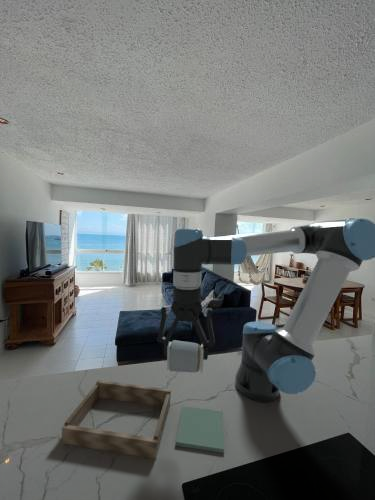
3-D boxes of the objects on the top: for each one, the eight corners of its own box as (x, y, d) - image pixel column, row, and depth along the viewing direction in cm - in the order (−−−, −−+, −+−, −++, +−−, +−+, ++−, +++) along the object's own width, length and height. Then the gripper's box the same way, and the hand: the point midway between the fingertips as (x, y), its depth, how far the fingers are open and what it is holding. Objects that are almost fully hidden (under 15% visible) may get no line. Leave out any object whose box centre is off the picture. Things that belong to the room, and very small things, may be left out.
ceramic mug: (200, 378, 56) (201, 349, 56) (168, 377, 56) (169, 347, 56) (199, 357, 66) (200, 332, 66) (172, 356, 67) (173, 331, 67)
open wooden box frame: (170, 404, 68) (170, 389, 68) (156, 458, 51) (156, 438, 51) (97, 395, 71) (97, 380, 71) (61, 443, 54) (62, 423, 54)
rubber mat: (221, 414, 66) (222, 411, 66) (223, 453, 54) (224, 449, 54) (182, 409, 67) (182, 406, 67) (175, 445, 55) (175, 441, 55)
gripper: (144, 287, 56) (143, 373, 57) (227, 291, 54) (224, 381, 55) (152, 282, 64) (151, 357, 65) (226, 285, 61) (223, 364, 62)
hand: (185, 368), depth 60 cm, fingers closed on ceramic mug, 8 cm apart
